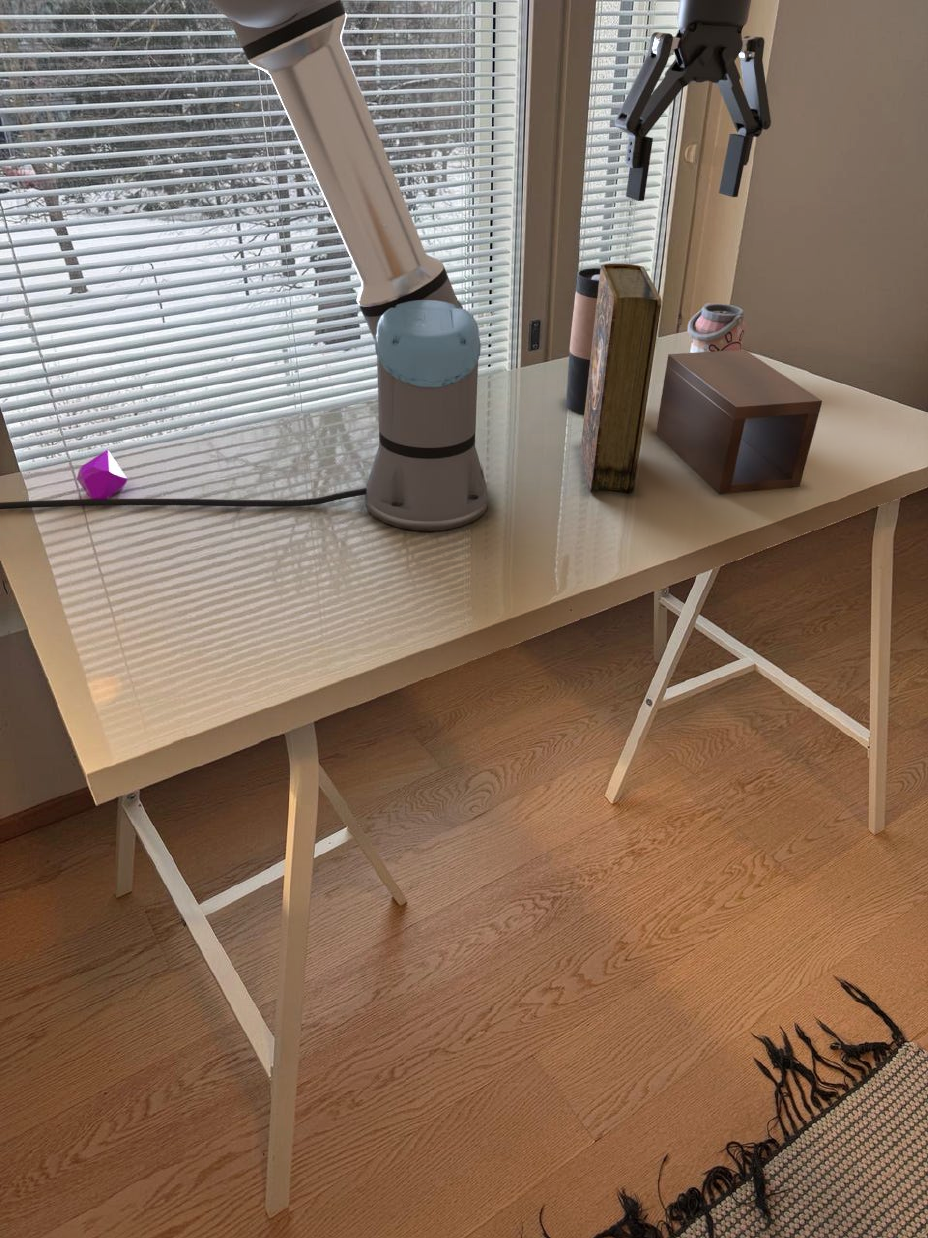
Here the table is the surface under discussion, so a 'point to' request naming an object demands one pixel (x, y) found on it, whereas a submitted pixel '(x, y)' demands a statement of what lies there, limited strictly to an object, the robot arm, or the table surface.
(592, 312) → the travel mug
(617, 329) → the book
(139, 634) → the table surface
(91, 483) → the crystal
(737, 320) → the patterned ceramic cup
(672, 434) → the shelf
